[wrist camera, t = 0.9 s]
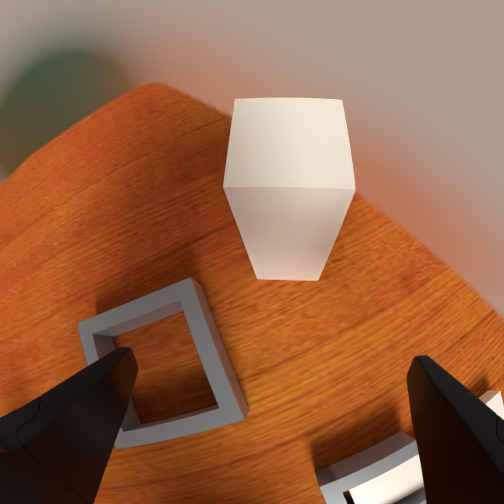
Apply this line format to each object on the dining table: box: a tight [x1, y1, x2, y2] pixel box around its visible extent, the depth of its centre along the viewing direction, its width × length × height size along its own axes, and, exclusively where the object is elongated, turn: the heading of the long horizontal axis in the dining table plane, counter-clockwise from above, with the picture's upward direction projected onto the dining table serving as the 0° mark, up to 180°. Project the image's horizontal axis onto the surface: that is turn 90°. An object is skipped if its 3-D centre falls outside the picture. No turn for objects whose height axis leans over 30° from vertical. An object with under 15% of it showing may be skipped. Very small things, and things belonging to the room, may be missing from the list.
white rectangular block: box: [223, 98, 356, 281], centre depth 17 cm, size 4×4×13 cm
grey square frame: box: [77, 277, 250, 449], centre depth 19 cm, size 10×10×3 cm
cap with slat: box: [315, 390, 504, 504], centre depth 15 cm, size 7×16×3 cm, turn 111°
